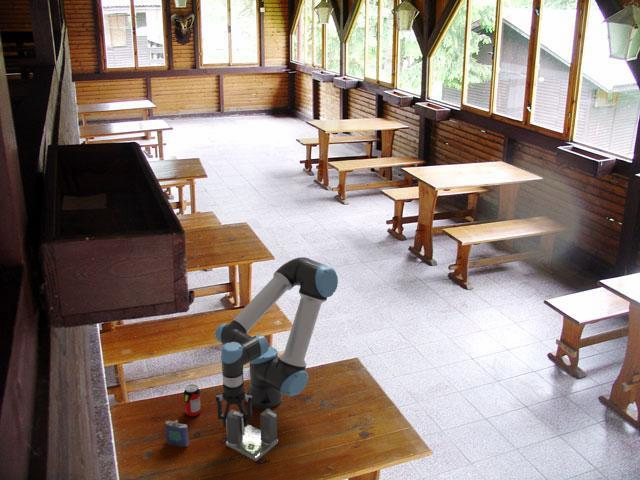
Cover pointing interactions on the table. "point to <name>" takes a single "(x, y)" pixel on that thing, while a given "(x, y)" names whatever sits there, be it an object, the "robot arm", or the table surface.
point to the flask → (176, 434)
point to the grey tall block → (268, 426)
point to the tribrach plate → (255, 439)
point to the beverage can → (192, 400)
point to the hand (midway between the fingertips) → (235, 432)
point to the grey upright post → (234, 427)
